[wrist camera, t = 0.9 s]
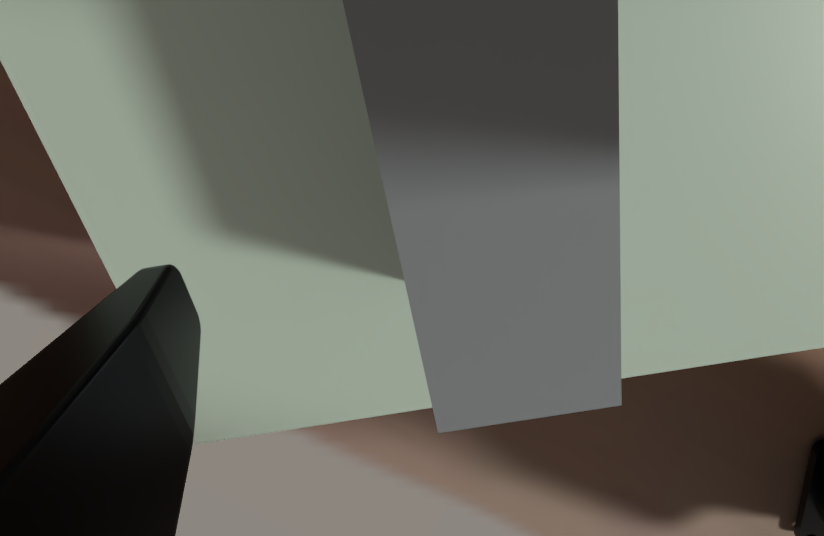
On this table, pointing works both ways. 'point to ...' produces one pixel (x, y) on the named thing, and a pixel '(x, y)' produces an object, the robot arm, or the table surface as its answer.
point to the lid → (443, 190)
